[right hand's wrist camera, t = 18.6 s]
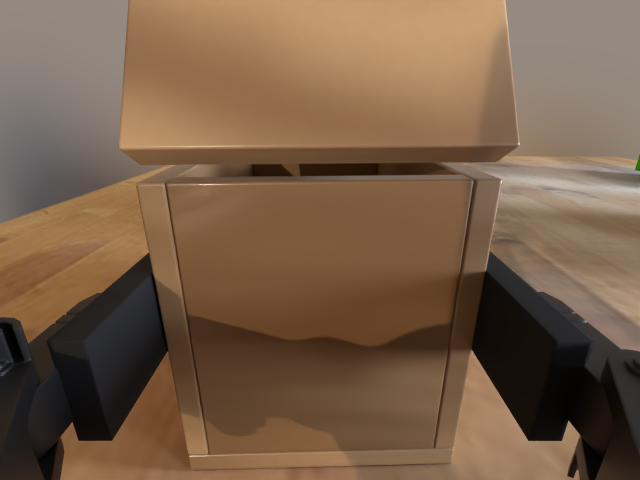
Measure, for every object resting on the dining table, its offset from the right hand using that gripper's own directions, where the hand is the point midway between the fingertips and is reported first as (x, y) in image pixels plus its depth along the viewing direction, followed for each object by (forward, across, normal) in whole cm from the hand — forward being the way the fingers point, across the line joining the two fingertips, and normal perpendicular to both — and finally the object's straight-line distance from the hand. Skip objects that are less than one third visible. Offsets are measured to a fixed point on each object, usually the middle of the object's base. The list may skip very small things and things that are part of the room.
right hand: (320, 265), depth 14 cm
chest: (+4, 0, -6) cm, 7 cm away
